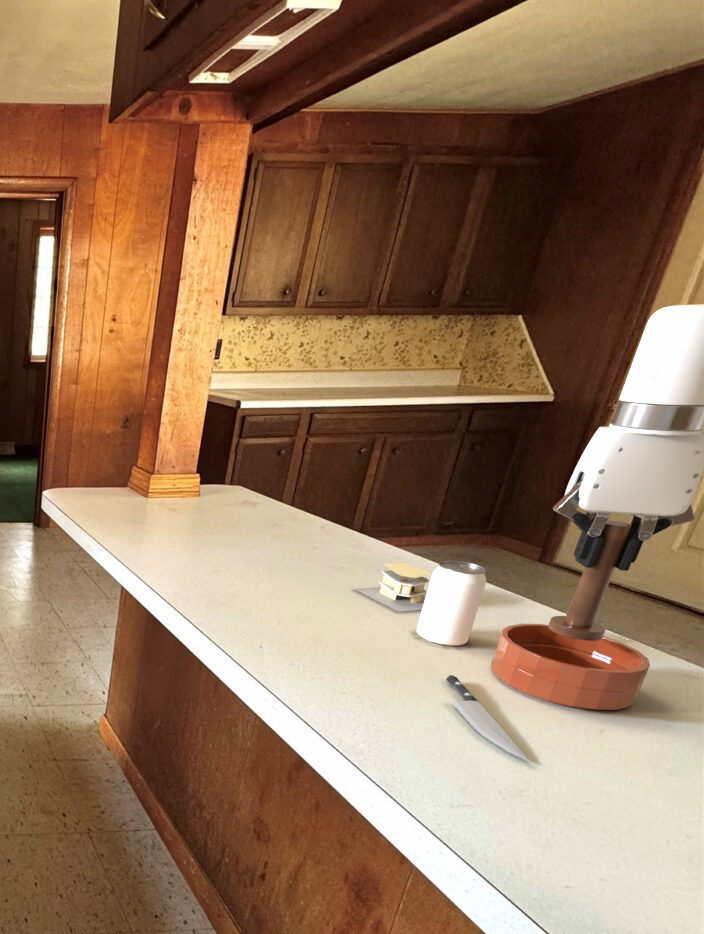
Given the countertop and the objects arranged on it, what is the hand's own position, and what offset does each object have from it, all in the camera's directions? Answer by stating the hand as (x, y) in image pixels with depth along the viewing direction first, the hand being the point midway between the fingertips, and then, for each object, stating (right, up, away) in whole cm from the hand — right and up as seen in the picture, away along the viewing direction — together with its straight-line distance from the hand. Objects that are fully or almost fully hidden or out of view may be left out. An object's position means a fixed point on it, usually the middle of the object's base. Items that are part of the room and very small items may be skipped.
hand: (601, 564), depth 84 cm
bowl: (+1, -16, +6) cm, 18 cm away
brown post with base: (0, -9, +4) cm, 10 cm away
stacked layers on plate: (+1, -5, +35) cm, 35 cm away
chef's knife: (-16, -20, 0) cm, 25 cm away
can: (-4, -11, +20) cm, 24 cm away
